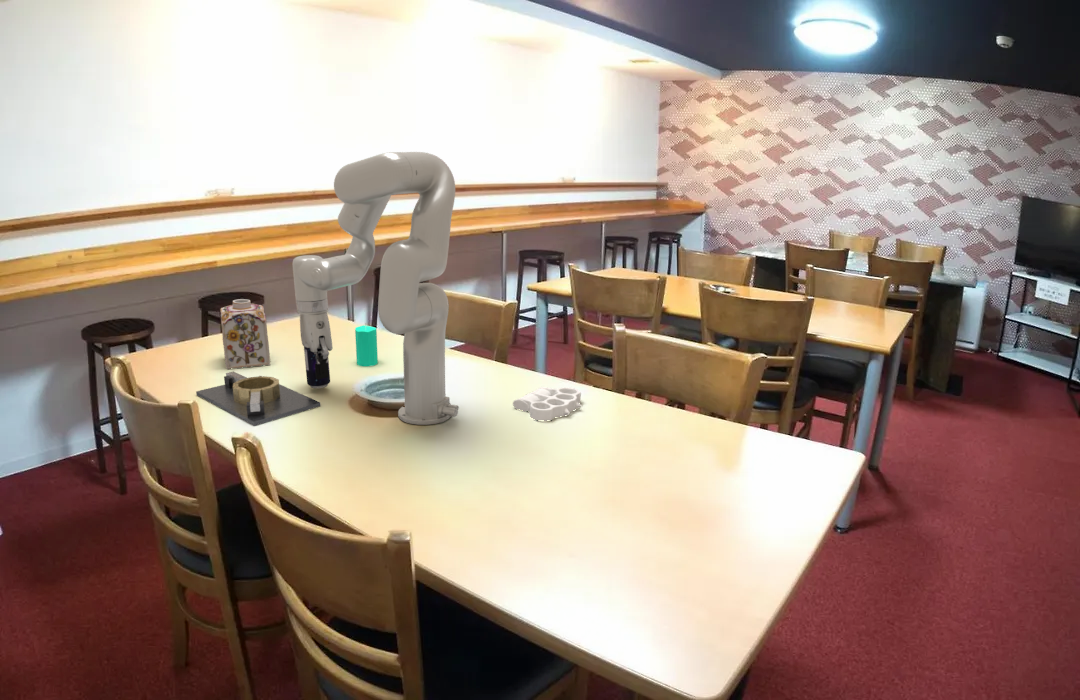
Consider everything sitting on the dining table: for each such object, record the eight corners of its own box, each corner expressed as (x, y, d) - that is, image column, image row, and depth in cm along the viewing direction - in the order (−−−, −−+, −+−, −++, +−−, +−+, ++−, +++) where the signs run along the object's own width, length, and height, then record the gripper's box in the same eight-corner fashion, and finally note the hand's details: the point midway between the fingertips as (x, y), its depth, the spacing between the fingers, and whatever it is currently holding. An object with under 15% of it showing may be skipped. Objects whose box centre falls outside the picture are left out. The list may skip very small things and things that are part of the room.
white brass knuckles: (544, 393, 184) (593, 405, 177) (505, 414, 169) (557, 428, 162) (544, 381, 183) (594, 392, 176) (505, 400, 168) (557, 414, 161)
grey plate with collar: (320, 406, 170) (319, 388, 168) (254, 425, 157) (252, 407, 156) (260, 379, 187) (259, 363, 185) (196, 395, 174) (194, 378, 173)
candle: (354, 361, 204) (352, 321, 200) (375, 359, 206) (374, 319, 203) (358, 367, 199) (356, 326, 195) (380, 365, 201) (378, 324, 198)
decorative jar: (224, 358, 203) (218, 297, 198) (267, 354, 208) (262, 295, 203) (225, 370, 193) (219, 306, 188) (270, 366, 198) (265, 303, 193)
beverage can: (316, 390, 176) (312, 344, 173) (302, 386, 179) (298, 341, 176) (335, 385, 180) (331, 340, 177) (321, 380, 184) (317, 336, 180)
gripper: (339, 310, 170) (345, 381, 175) (315, 298, 183) (320, 364, 188) (309, 314, 165) (315, 386, 170) (285, 301, 178) (292, 369, 183)
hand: (318, 374), depth 179 cm, fingers closed on beverage can, 5 cm apart
